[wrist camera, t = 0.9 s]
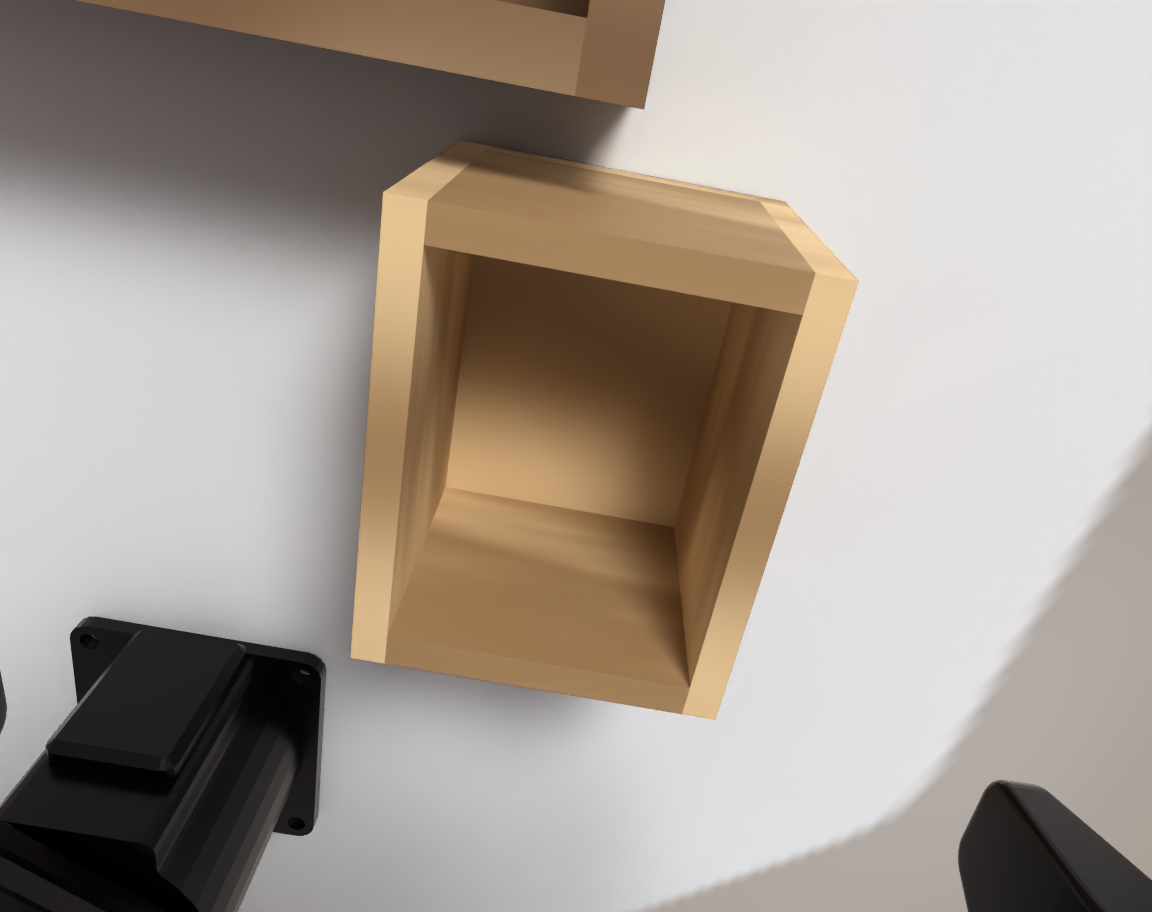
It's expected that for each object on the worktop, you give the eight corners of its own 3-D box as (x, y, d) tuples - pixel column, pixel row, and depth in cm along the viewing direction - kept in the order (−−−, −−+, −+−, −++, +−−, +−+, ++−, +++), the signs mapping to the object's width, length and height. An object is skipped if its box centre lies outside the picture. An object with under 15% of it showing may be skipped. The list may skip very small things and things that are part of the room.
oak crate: (691, 539, 21) (715, 720, 15) (422, 492, 20) (350, 657, 15) (785, 201, 17) (858, 281, 12) (460, 140, 17) (382, 192, 11)
